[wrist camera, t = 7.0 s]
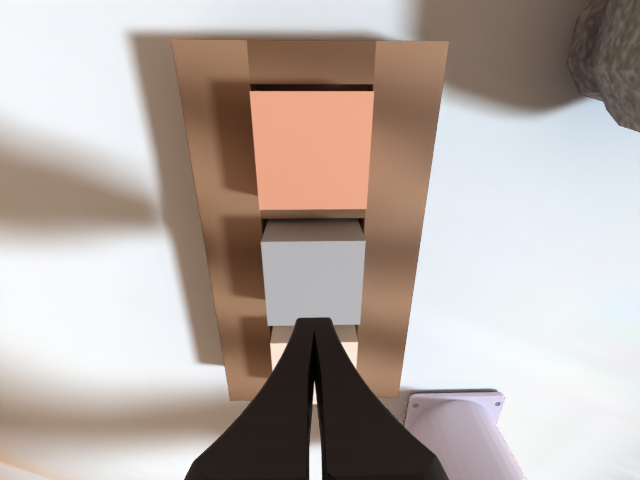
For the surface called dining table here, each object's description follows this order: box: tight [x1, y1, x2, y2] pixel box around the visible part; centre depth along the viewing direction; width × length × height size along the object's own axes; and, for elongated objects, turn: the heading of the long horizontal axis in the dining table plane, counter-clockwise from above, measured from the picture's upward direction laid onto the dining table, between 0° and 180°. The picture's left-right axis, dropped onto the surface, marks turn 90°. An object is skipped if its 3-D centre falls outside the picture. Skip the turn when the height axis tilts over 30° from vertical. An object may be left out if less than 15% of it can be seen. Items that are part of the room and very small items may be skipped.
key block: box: [172, 40, 449, 401], centre depth 20 cm, size 22×12×3 cm, turn 0°
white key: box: [270, 325, 358, 404], centre depth 21 cm, size 5×5×4 cm
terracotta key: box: [250, 91, 374, 210], centre depth 16 cm, size 5×5×4 cm
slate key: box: [261, 218, 366, 326], centre depth 18 cm, size 5×5×4 cm
